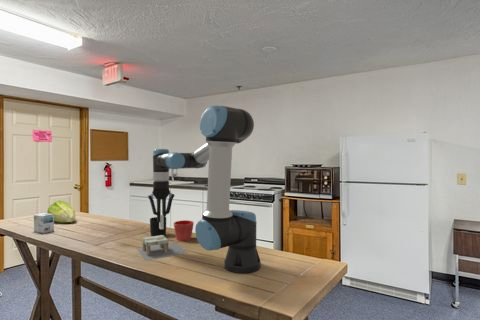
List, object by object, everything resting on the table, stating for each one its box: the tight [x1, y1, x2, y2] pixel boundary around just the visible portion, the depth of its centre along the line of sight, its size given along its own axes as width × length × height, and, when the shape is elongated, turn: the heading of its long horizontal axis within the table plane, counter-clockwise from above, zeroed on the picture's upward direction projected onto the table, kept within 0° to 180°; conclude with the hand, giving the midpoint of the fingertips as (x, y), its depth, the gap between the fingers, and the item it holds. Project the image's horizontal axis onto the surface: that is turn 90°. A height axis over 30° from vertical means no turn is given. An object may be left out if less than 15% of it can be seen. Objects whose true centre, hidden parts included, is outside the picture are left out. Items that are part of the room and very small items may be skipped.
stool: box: [142, 235, 169, 256], centre depth 143 cm, size 10×6×10 cm
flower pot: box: [173, 219, 195, 242], centre depth 165 cm, size 11×11×10 cm
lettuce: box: [46, 200, 76, 224], centre depth 213 cm, size 15×24×16 cm
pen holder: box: [149, 216, 167, 237], centre depth 175 cm, size 9×9×10 cm
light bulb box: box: [33, 212, 55, 234], centre depth 185 cm, size 11×7×11 cm, turn 63°
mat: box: [136, 242, 189, 261], centre depth 144 cm, size 20×20×1 cm
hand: (161, 228), depth 145 cm, fingers closed
